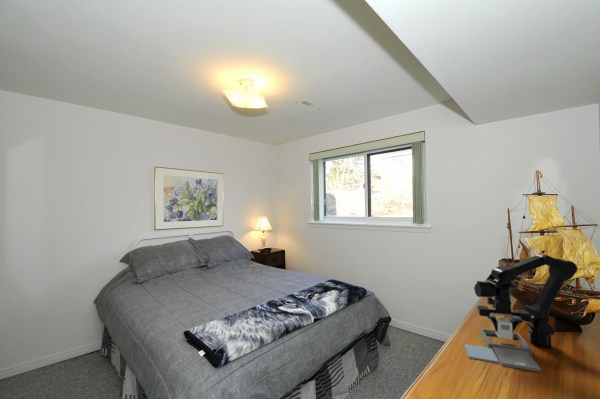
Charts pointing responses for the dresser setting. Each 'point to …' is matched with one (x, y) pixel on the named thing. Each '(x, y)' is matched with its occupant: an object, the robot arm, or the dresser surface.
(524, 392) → the dresser surface
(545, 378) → the dresser surface
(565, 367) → the dresser surface
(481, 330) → the grey open frame
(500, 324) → the block
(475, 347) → the mat
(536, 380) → the dresser surface
